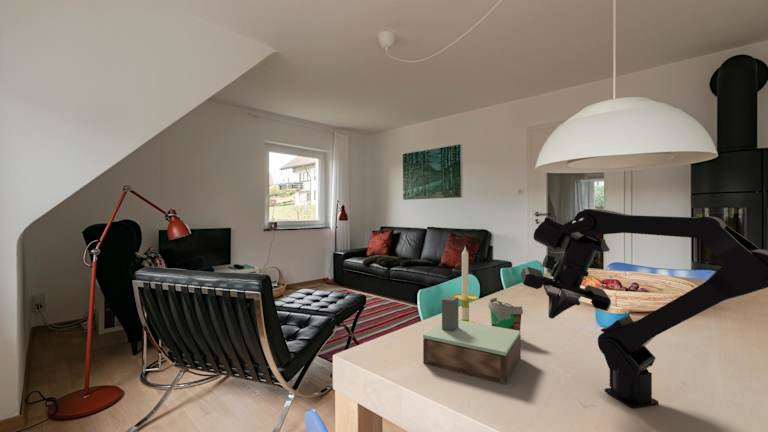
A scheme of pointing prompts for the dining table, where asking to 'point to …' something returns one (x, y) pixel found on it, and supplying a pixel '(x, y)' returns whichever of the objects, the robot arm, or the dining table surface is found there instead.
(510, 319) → the food container
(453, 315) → the lid
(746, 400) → the dining table surface
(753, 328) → the dining table surface
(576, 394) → the dining table surface
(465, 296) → the candle
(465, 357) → the walnut box
